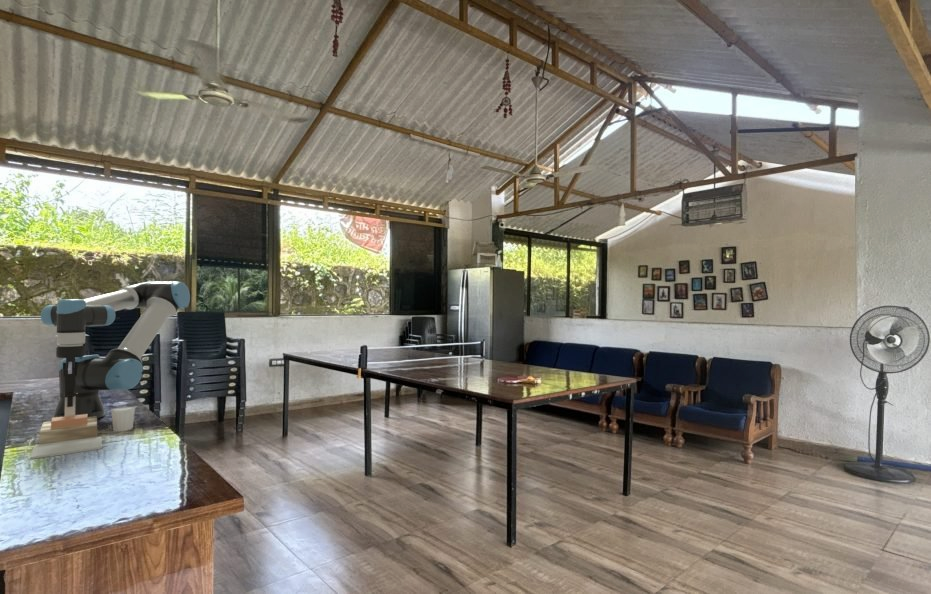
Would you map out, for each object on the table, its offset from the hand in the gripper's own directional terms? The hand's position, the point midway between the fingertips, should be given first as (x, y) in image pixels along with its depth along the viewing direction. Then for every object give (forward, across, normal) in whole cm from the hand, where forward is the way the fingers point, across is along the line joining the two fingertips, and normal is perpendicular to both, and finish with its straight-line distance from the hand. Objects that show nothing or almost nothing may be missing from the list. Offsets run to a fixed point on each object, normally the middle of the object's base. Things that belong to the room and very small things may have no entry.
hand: (69, 416), depth 165 cm
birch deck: (+5, +6, 0) cm, 8 cm away
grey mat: (+6, +22, 0) cm, 23 cm away
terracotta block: (+1, +7, 0) cm, 8 cm away
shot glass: (+6, +5, +14) cm, 16 cm away
